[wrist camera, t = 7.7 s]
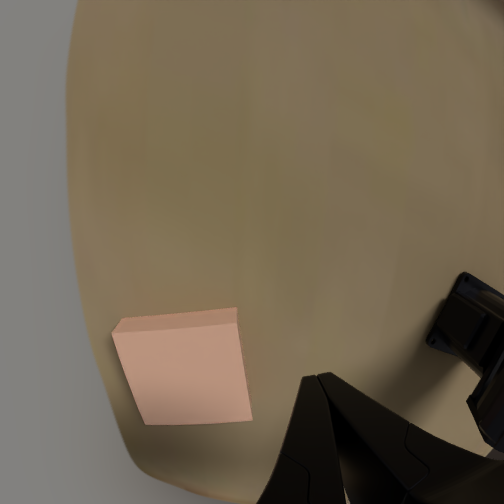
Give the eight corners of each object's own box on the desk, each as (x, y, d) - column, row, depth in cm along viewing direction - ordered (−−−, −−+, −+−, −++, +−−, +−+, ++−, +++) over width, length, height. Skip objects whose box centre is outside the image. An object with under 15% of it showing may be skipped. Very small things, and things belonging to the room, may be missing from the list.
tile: (236, 322, 19) (111, 333, 19) (252, 420, 21) (145, 424, 20) (236, 304, 21) (124, 315, 21) (251, 397, 23) (152, 403, 23)
